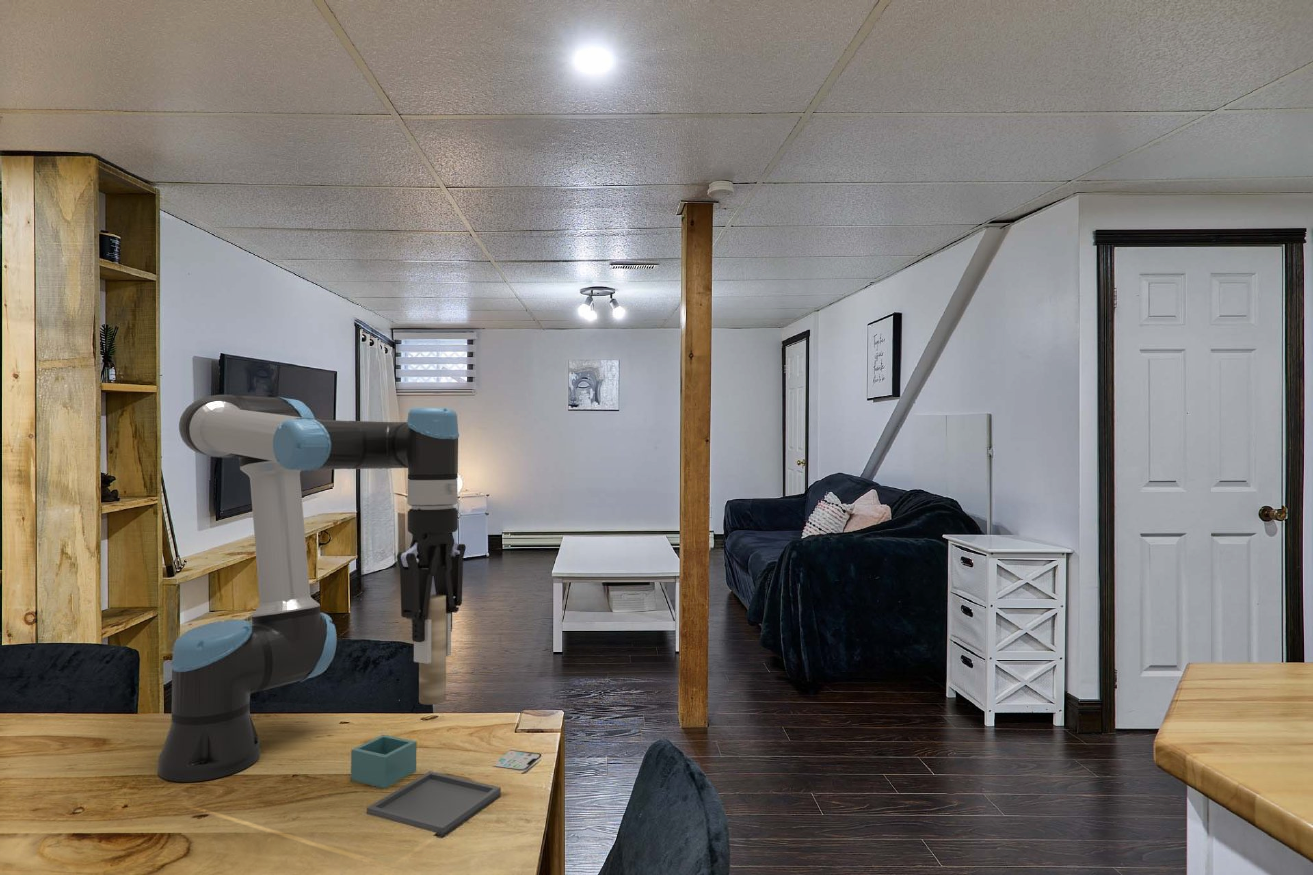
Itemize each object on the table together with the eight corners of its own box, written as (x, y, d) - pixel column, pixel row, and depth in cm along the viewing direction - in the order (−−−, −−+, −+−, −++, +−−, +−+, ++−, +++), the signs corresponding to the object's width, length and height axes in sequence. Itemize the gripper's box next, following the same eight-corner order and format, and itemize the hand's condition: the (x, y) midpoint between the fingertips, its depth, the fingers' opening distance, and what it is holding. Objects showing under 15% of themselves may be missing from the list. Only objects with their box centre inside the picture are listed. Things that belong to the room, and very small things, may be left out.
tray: (366, 817, 114) (366, 807, 114) (429, 779, 126) (429, 771, 126) (442, 838, 108) (442, 828, 108) (500, 796, 121) (500, 787, 121)
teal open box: (350, 783, 125) (351, 749, 125) (382, 766, 131) (383, 734, 131) (384, 792, 122) (385, 757, 122) (416, 774, 128) (416, 741, 128)
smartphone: (469, 744, 140) (543, 753, 136) (469, 750, 140) (543, 759, 136) (446, 760, 133) (524, 770, 129) (446, 767, 133) (524, 777, 129)
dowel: (413, 702, 117) (413, 597, 117) (430, 695, 121) (430, 593, 121) (434, 706, 116) (434, 599, 116) (451, 698, 119) (451, 595, 120)
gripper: (414, 511, 109) (414, 676, 109) (485, 504, 125) (485, 647, 125) (374, 510, 112) (373, 670, 112) (448, 502, 128) (448, 643, 128)
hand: (432, 658), depth 118 cm, fingers closed on dowel, 4 cm apart
